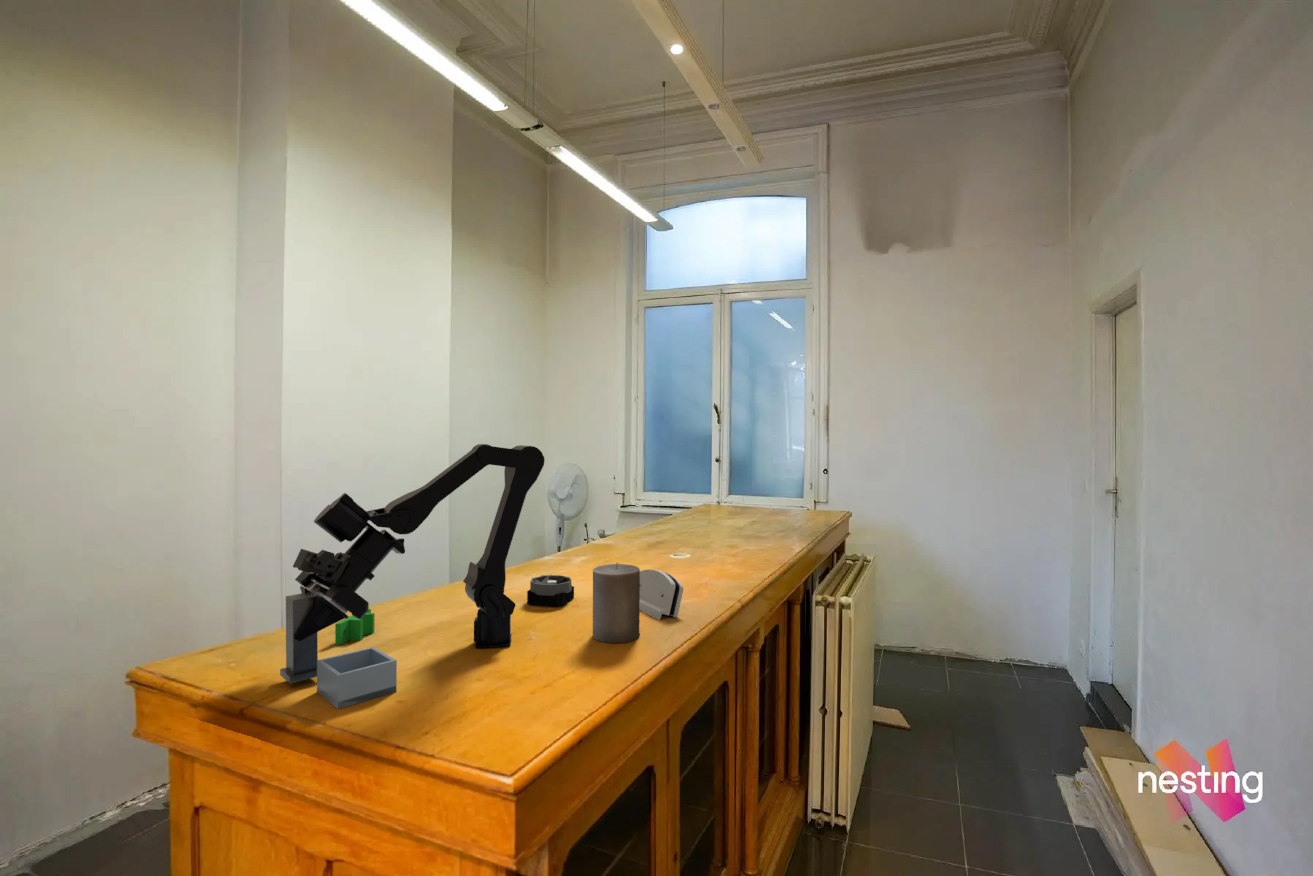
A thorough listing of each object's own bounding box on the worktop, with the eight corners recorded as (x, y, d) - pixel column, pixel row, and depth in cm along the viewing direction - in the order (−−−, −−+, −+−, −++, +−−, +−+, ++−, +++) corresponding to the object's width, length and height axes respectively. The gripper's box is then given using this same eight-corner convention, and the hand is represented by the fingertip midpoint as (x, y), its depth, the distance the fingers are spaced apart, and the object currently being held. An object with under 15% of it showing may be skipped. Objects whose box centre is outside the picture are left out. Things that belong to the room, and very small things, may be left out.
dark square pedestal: (313, 666, 107) (312, 590, 107) (323, 674, 104) (323, 596, 103) (280, 675, 103) (279, 596, 103) (289, 683, 100) (289, 602, 100)
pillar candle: (649, 634, 129) (649, 561, 129) (618, 647, 121) (619, 569, 121) (612, 625, 135) (613, 555, 134) (581, 637, 127) (582, 563, 127)
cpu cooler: (562, 585, 147) (522, 582, 149) (562, 609, 147) (522, 606, 149) (578, 575, 157) (540, 572, 159) (577, 598, 157) (540, 595, 159)
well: (373, 676, 106) (373, 646, 106) (396, 691, 100) (396, 660, 100) (316, 691, 99) (317, 660, 99) (337, 709, 93) (337, 675, 93)
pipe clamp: (352, 646, 121) (352, 624, 121) (335, 645, 121) (335, 623, 121) (382, 629, 131) (382, 608, 131) (366, 628, 132) (366, 608, 132)
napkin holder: (623, 602, 153) (636, 562, 154) (639, 606, 155) (651, 567, 157) (658, 620, 138) (672, 576, 140) (675, 624, 141) (689, 581, 142)
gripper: (307, 524, 112) (235, 598, 105) (348, 537, 100) (269, 622, 92) (353, 561, 118) (288, 634, 110) (397, 578, 105) (327, 661, 98)
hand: (292, 636), depth 102 cm, fingers closed on dark square pedestal, 4 cm apart
